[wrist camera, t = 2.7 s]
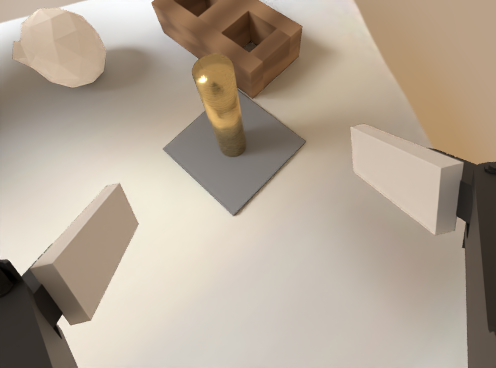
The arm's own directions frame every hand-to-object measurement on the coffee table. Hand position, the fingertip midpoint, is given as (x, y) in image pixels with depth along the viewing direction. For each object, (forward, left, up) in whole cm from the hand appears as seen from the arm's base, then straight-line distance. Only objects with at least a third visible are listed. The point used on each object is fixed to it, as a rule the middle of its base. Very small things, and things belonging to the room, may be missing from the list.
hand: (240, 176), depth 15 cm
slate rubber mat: (-8, +5, -14) cm, 18 cm away
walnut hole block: (-20, +16, -14) cm, 30 cm away
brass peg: (-8, +5, -14) cm, 17 cm away
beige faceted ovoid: (-33, -1, -15) cm, 37 cm away
